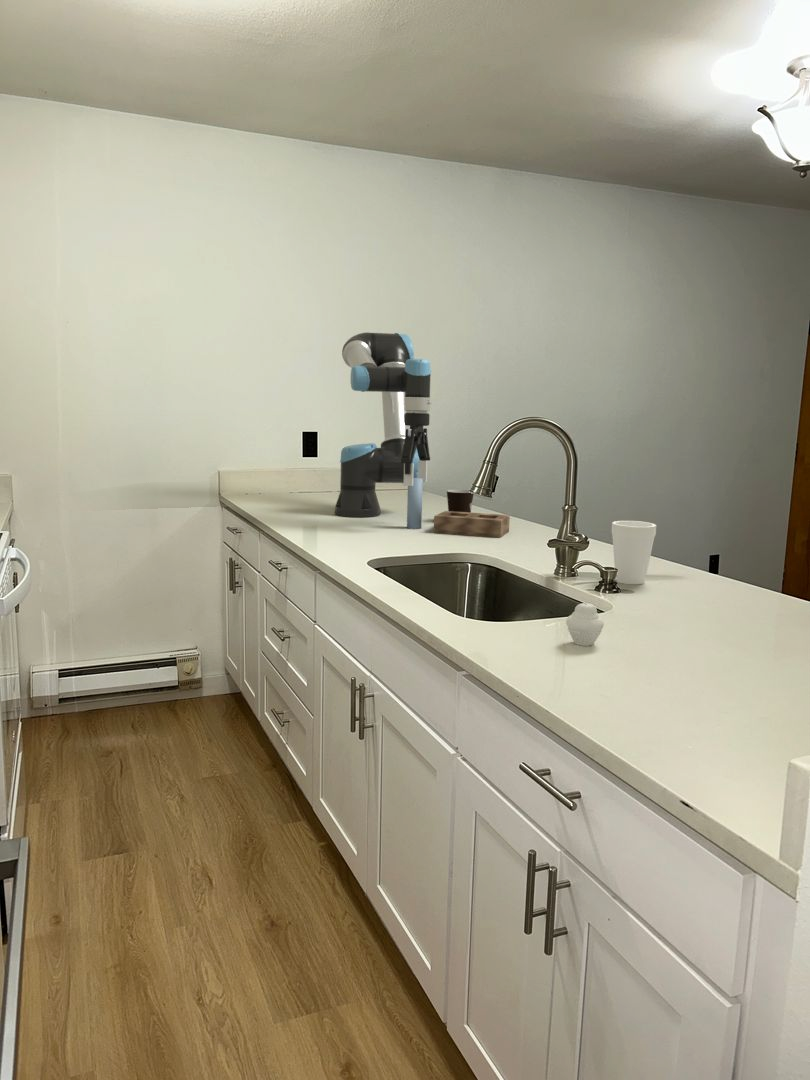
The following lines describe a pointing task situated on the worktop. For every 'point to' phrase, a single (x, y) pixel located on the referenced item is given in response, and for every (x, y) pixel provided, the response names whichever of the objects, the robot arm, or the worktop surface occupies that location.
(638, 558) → the foam cup
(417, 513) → the peg
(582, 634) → the white lidded urn
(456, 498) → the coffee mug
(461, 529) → the socket block
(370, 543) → the worktop surface
